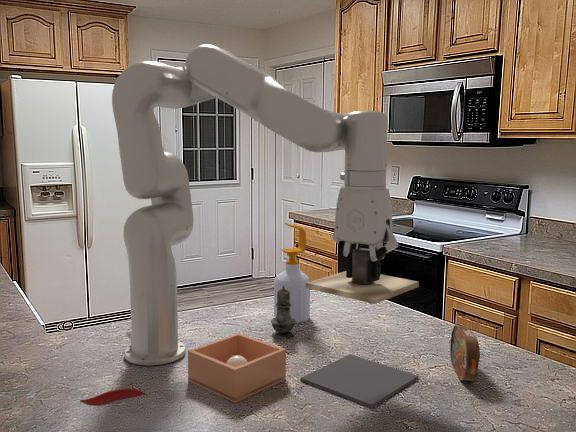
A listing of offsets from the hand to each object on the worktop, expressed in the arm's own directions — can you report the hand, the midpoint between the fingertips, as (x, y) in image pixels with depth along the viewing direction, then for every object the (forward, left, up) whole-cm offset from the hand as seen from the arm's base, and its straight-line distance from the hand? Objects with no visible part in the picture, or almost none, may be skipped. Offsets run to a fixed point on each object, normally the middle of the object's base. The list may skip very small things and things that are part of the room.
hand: (362, 277), depth 104 cm
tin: (+13, +17, -20) cm, 29 cm away
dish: (-17, -16, -20) cm, 31 cm away
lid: (0, 0, -2) cm, 2 cm away
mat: (0, 0, -20) cm, 20 cm away
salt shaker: (-27, +8, -20) cm, 35 cm away
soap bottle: (-34, +19, -20) cm, 44 cm away
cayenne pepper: (-28, -36, -21) cm, 50 cm away
